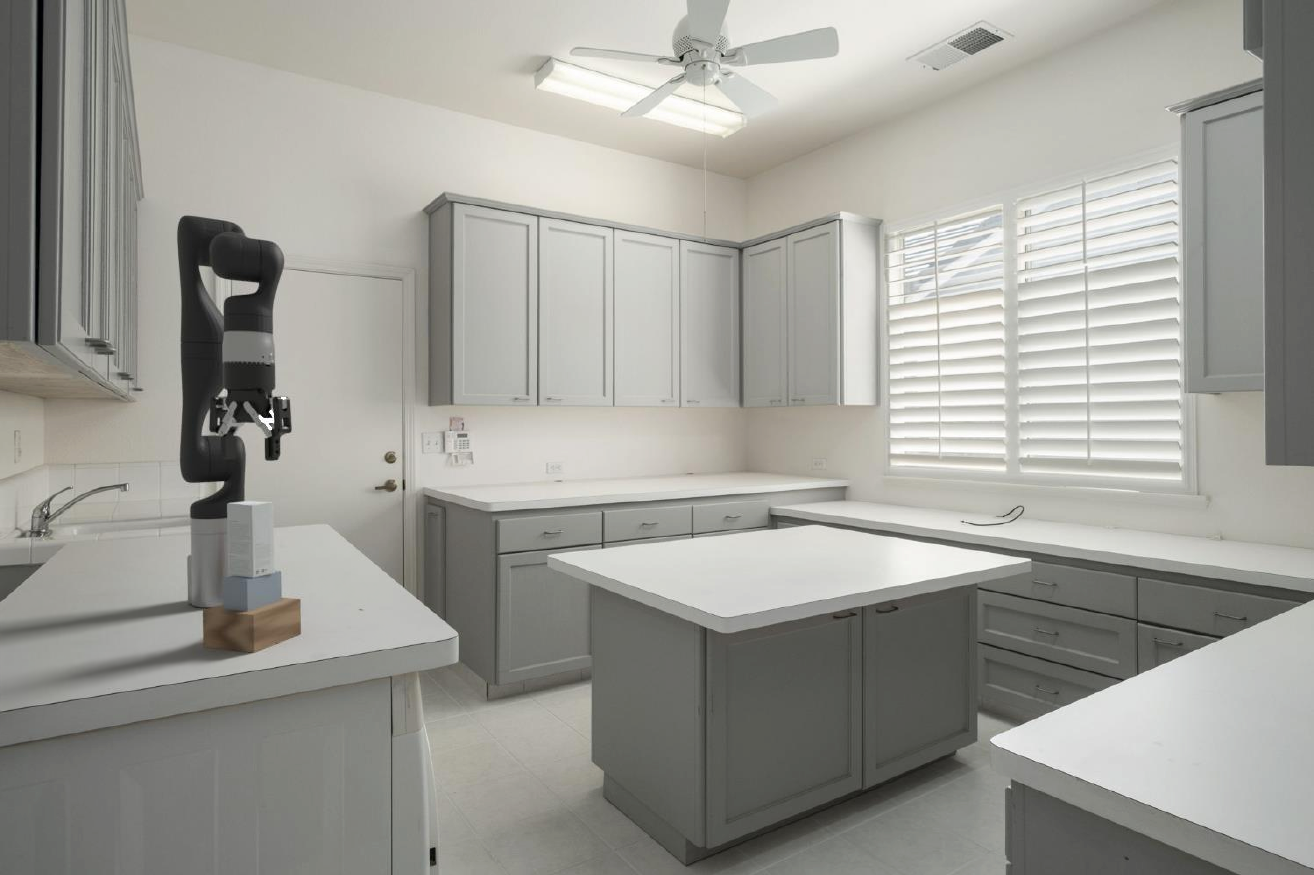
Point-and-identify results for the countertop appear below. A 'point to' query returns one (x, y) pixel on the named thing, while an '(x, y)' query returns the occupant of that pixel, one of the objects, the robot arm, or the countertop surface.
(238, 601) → the slate brick
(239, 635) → the walnut block
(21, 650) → the countertop surface
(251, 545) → the skincare box
